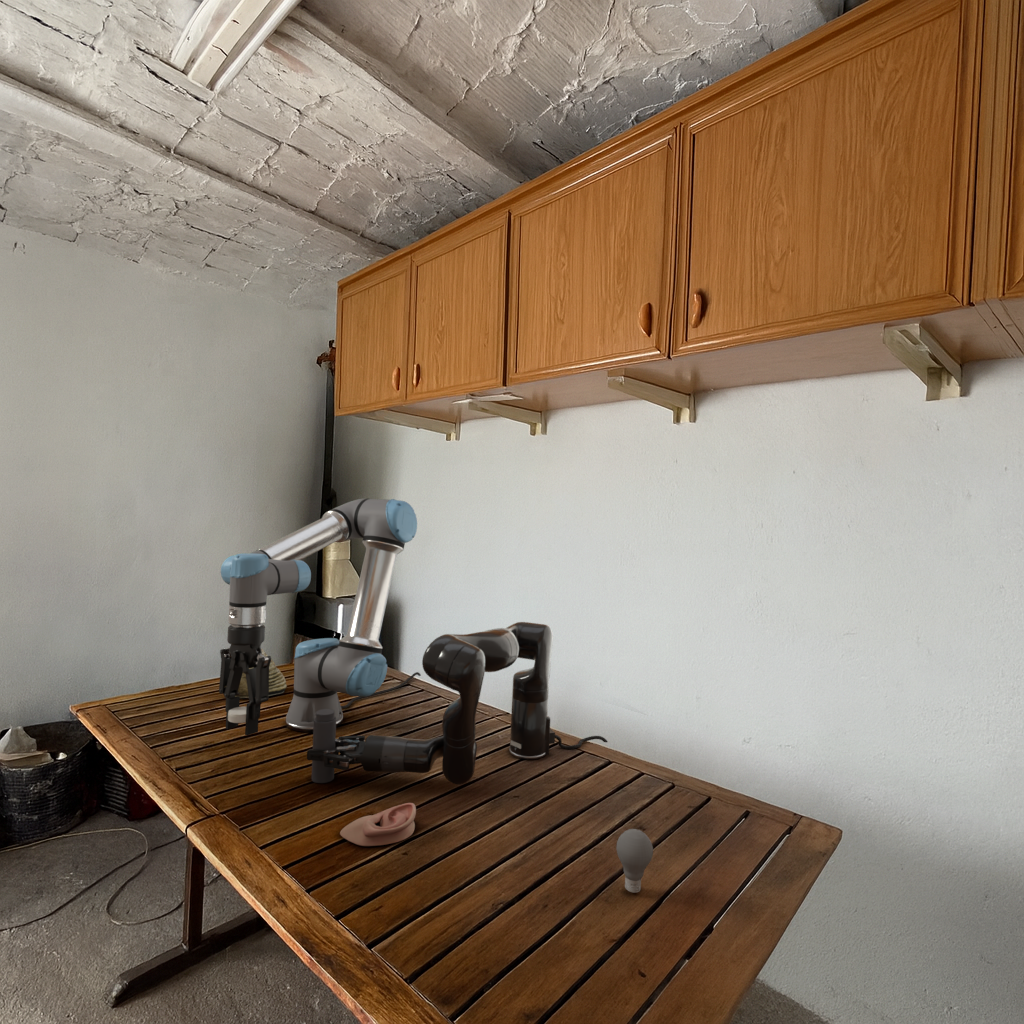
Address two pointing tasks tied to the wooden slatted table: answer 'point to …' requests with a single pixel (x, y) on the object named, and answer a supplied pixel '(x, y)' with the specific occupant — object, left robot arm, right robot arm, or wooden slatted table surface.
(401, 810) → the anatomical model
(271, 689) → the fossil
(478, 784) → the wooden slatted table surface
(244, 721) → the lid
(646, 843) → the light bulb
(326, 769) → the jar
